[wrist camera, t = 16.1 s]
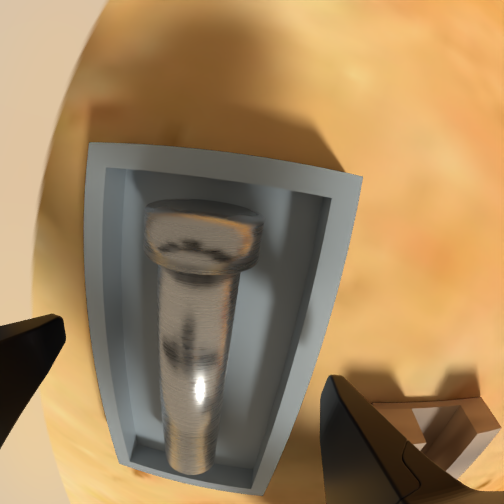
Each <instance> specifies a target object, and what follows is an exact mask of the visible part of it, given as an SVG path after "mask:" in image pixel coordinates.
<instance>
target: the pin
mask: <svg viewBox="0 0 504 504" xmlns="http://www.w3.org/2000/svg"><path fill="white" fill-rule="evenodd" d="M264 222H265V218H264V217H263V216H262V215H261V214H259V213H258V212H256V211H253V210H251V209H248V208H245V207H242V206H238V205H234V204H229V203H224V202H218V201H211V200H201V199H166V200H159V201H155V202H152V203H149V204H147V205H146V207H145V219H144V243H143V250H144V253H145V255H146V256H147V257H148V258H149V259H150V260H151V261H153V262H155V263H156V264H158V286H157V332H158V365H159V384H160V400H161V412H162V424H163V434H164V443H165V452H166V458H167V461H168V463H169V464H170V466H171V467H172V468H173V469H175V470H176V471H178V472H180V473H183V474H187V475H198V474H202V473H204V472H206V471H208V470H209V469H210V468H211V467H212V466H213V464H214V461H215V454H216V447H217V439H218V432H219V424H220V417H221V409H222V402H223V395H224V387H225V380H226V373H227V365H228V358H229V351H230V344H231V337H232V330H233V322H234V315H235V308H236V301H237V294H238V287H239V281H240V274H241V272H243V271H246V270H248V269H250V268H252V267H254V266H255V265H256V264H257V262H258V258H259V252H260V246H261V240H262V234H263V228H264Z"/></svg>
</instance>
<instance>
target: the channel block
mask: <svg viewBox="0 0 504 504" xmlns="http://www.w3.org/2000/svg"><path fill="white" fill-rule="evenodd" d="M372 405H373V406H374V407H375V408H376V409H377V410H378V411H379V412H380V413H381V414H382V415H383V416H384V417H385V418H386V419H387V420H388V421H389V422H390V423H391V424H392V425H393V426H394V427H395V428H396V429H397V430H398V431H399V432H401V433H402V434H403V435H404V436H405V437H406V438H407V440H409V441H410V442H411V443H412V444H413V445H414V446H415V447H416V448H418V449H419V450H420V451H421V452H422V453H423V454H424V455H425V456H427V457H428V458H429V459H430V460H432V461H433V462H434V463H435V464H437V465H438V466H439V467H441V468H442V469H443V470H445V471H446V472H447V473H449V474H450V475H451V476H453V477H454V478H456V479H458V478H459V477H460V476H461V475H462V474H463V473H464V472H465V471H466V470H467V468H468V467H469V466H470V465H471V464H472V463H473V462H474V461H475V460H476V459H477V457H478V456H479V455H480V454H481V453H482V452H483V451H484V449H485V448H486V447H487V446H488V445H489V443H490V442H491V441H492V440H493V438H494V437H495V436H496V435H497V433H498V432H499V431H500V429H501V426H500V425H499V423H498V421H497V420H496V418H495V417H494V415H493V414H492V412H491V411H490V409H489V408H488V406H487V405H486V404H485V402H484V401H483V399H482V398H481V397H476V398H468V399H458V400H446V401H431V402H407V403H372Z"/></svg>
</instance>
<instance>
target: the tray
mask: <svg viewBox="0 0 504 504" xmlns="http://www.w3.org/2000/svg"><path fill="white" fill-rule="evenodd" d="M362 180H363V177H362V176H358V175H354V174H349V173H345V172H340V171H335V170H331V169H326V168H321V167H316V166H311V165H306V164H300V163H295V162H289V161H283V160H277V159H271V158H265V157H258V156H252V155H245V154H237V153H230V152H222V151H214V150H205V149H195V148H185V147H174V146H161V145H147V144H129V143H101V142H89V148H88V158H87V168H86V182H85V199H84V268H85V286H86V299H87V310H88V320H89V328H90V336H91V343H92V350H93V357H94V363H95V368H96V374H97V379H98V384H99V389H100V394H101V398H102V403H103V407H104V411H105V416H106V419H107V423H108V427H109V431H110V434H111V438H112V442H113V445H114V448H115V452H116V455H117V458H118V461H119V463H120V464H122V465H125V466H128V467H131V468H134V469H137V470H140V471H143V472H146V473H149V474H153V475H156V476H159V477H163V478H167V479H170V480H174V481H178V482H182V483H187V484H191V485H195V486H200V487H205V488H210V489H216V490H221V491H227V492H234V493H241V494H249V495H258V496H263V495H264V493H265V491H266V488H267V486H268V484H269V482H270V480H271V477H272V475H273V473H274V471H275V469H276V466H277V464H278V462H279V459H280V457H281V455H282V452H283V450H284V447H285V445H286V443H287V440H288V438H289V435H290V433H291V430H292V428H293V425H294V423H295V420H296V417H297V415H298V412H299V409H300V407H301V404H302V401H303V399H304V396H305V393H306V390H307V388H308V385H309V382H310V379H311V376H312V373H313V370H314V367H315V364H316V361H317V358H318V355H319V352H320V349H321V346H322V342H323V339H324V336H325V333H326V329H327V326H328V323H329V319H330V316H331V312H332V309H333V305H334V302H335V298H336V295H337V291H338V287H339V283H340V280H341V276H342V272H343V268H344V264H345V260H346V256H347V251H348V247H349V243H350V239H351V234H352V230H353V225H354V220H355V216H356V211H357V206H358V201H359V196H360V191H361V185H362ZM166 199H201V200H211V201H218V202H224V203H229V204H234V205H238V206H242V207H245V208H248V209H251V210H253V211H256V212H258V213H259V214H261V215H262V216H263V217H264V218H265V222H264V228H263V234H262V240H261V246H260V252H259V258H258V262H257V264H256V265H255V266H254V267H252V268H250V269H248V270H246V271H243V272H241V274H240V281H239V287H238V294H237V301H236V308H235V315H234V322H233V330H232V337H231V344H230V351H229V358H228V365H227V373H226V380H225V387H224V395H223V402H222V409H221V417H220V424H219V432H218V439H217V447H216V454H215V461H214V464H213V466H212V467H211V468H210V469H209V470H208V471H206V472H204V473H202V474H198V475H187V474H183V473H180V472H178V471H176V470H175V469H173V468H172V467H171V466H170V464H169V463H168V461H167V458H166V452H165V443H164V434H163V424H162V412H161V400H160V384H159V365H158V332H157V286H158V264H156V263H155V262H153V261H151V260H150V259H149V258H148V257H147V256H146V255H145V253H144V250H143V243H144V219H145V207H146V205H147V204H149V203H152V202H155V201H159V200H166Z"/></svg>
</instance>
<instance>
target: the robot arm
mask: <svg viewBox="0 0 504 504" xmlns="http://www.w3.org/2000/svg"><path fill="white" fill-rule="evenodd" d="M65 341H66V334H65V328H64V322H63V319H62V317H61V316H58V315H55V314H49V315H45V316H40V317H36V318H32V319H28V320H24V321H20V322H16V323H12V324H7V325H3V326H0V449H1V447H2V445H3V443H4V442H5V440H6V438H7V436H8V435H9V433H10V431H11V430H12V428H13V426H14V425H15V423H16V421H17V420H18V418H19V416H20V415H21V413H22V411H23V410H24V409H25V407H26V405H27V404H28V402H29V401H30V399H31V398H32V396H33V394H34V393H35V392H36V390H37V389H38V387H39V386H40V384H41V383H42V381H43V380H44V378H45V377H46V375H47V374H48V372H49V370H50V368H51V367H52V365H53V363H54V361H55V359H56V358H57V356H58V354H59V352H60V350H61V349H62V347H63V345H64V343H65ZM320 446H321V455H322V465H323V474H324V485H325V495H326V504H504V491H478V490H474V489H471V488H469V487H467V486H466V485H464V484H462V483H461V482H460V481H458V480H457V479H456V478H454V477H453V476H451V475H450V474H449V473H447V472H446V471H445V470H443V469H442V468H441V467H439V466H438V465H437V464H435V463H434V462H433V461H432V460H430V459H429V458H428V457H427V456H425V455H424V454H423V453H422V452H421V451H420V450H419V449H418V448H416V447H415V446H414V445H413V444H412V443H411V442H410V441H409V440H407V438H406V437H405V436H404V435H403V434H402V433H401V432H399V431H398V430H397V429H396V428H395V427H394V426H393V425H392V424H391V423H390V422H389V421H388V420H387V419H386V418H385V417H384V416H383V415H382V414H381V413H380V412H379V411H378V410H377V409H376V408H375V407H374V406H373V405H372V404H371V403H369V402H368V401H367V400H366V399H365V398H364V397H363V396H362V395H361V394H360V393H359V392H358V391H357V390H356V389H355V388H354V387H353V386H352V385H351V384H350V383H349V382H348V381H347V380H346V379H345V378H344V377H343V376H341V375H330V376H329V377H328V378H327V381H326V383H325V386H324V389H323V391H322V394H321V399H320Z"/></svg>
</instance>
